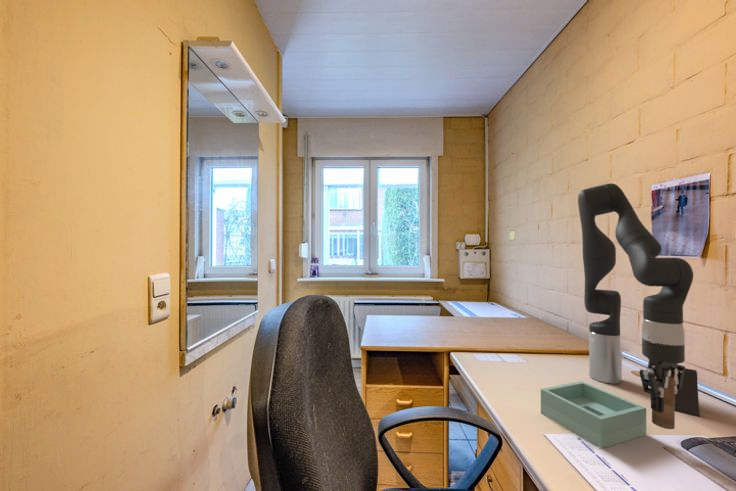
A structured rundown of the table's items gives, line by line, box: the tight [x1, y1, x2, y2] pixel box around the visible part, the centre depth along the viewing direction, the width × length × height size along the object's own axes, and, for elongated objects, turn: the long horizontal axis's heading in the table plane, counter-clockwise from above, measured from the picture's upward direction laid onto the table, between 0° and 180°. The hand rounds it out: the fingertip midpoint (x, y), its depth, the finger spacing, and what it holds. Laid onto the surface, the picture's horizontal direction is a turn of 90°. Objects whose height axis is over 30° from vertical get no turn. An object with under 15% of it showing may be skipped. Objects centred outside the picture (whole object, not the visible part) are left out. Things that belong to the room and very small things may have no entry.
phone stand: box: [675, 367, 700, 417], centre depth 94 cm, size 9×6×12 cm, turn 139°
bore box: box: [540, 380, 647, 449], centre depth 85 cm, size 17×17×7 cm
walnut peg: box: [651, 376, 676, 430], centre depth 75 cm, size 4×4×12 cm
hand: (662, 408), depth 75 cm, fingers closed on walnut peg, 4 cm apart
